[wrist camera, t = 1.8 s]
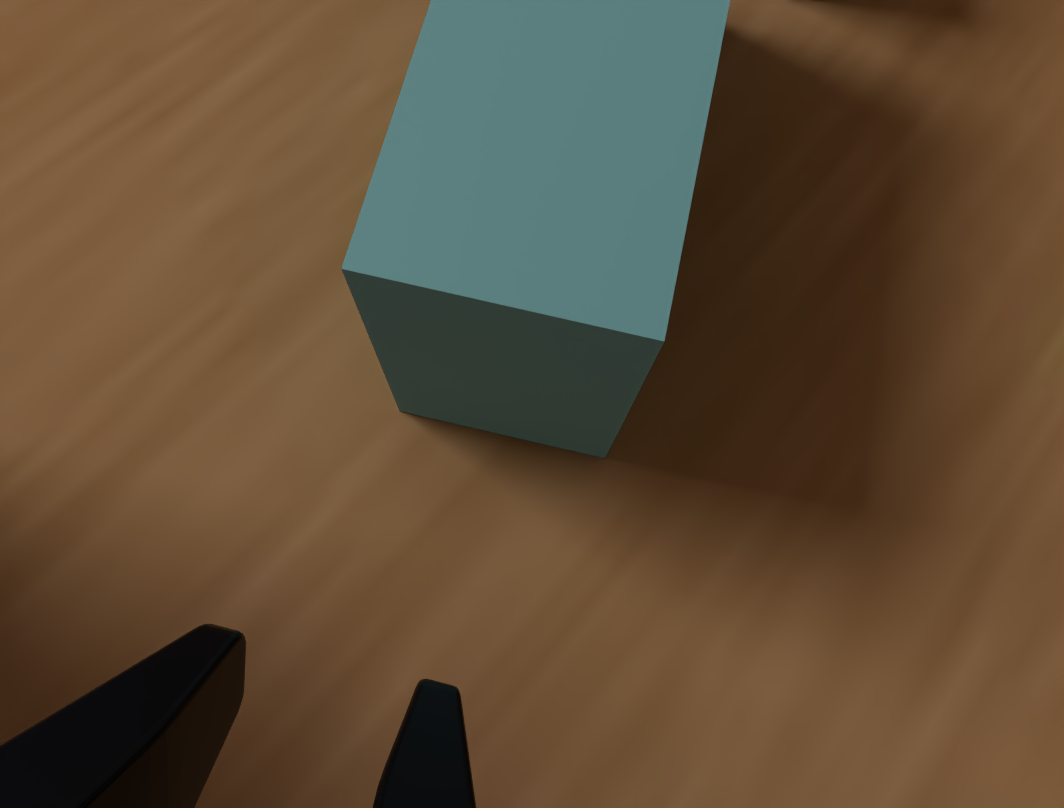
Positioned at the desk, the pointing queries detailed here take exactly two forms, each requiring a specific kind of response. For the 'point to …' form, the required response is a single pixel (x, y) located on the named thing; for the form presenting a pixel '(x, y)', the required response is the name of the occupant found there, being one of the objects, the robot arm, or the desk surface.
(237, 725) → the desk surface
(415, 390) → the teal block
